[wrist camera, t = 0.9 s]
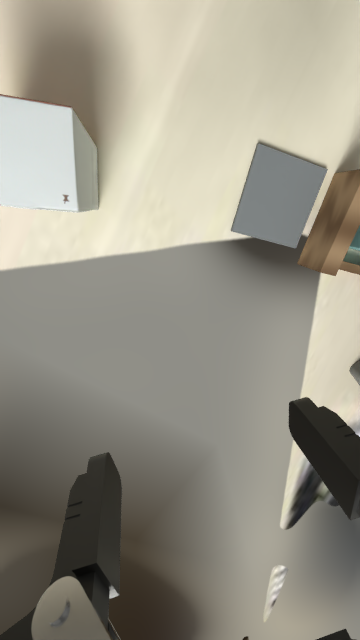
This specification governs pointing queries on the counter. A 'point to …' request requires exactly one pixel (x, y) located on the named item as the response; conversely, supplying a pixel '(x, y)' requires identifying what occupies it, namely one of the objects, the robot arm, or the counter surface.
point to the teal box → (356, 241)
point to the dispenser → (335, 227)
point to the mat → (277, 196)
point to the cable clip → (356, 371)
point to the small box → (45, 157)
